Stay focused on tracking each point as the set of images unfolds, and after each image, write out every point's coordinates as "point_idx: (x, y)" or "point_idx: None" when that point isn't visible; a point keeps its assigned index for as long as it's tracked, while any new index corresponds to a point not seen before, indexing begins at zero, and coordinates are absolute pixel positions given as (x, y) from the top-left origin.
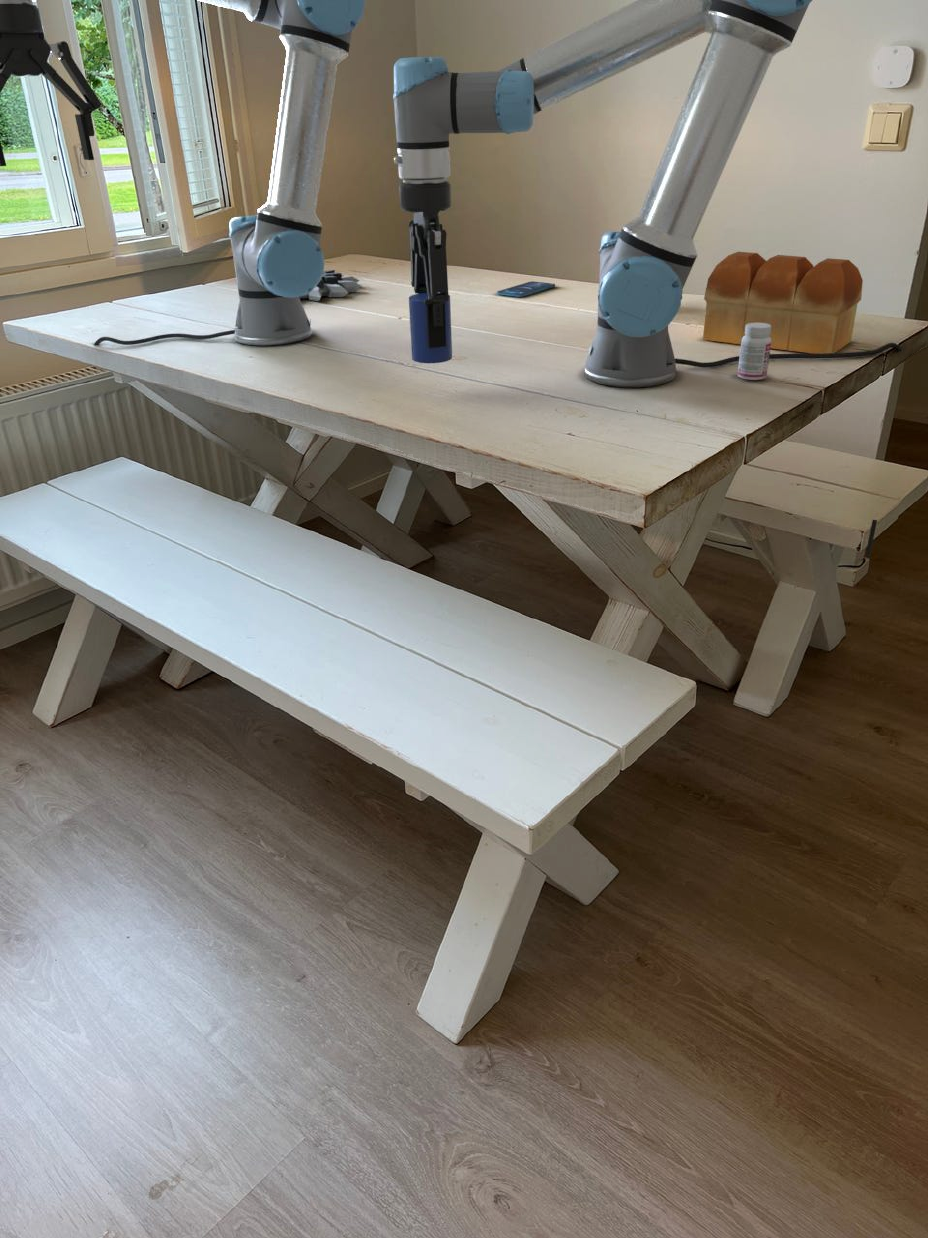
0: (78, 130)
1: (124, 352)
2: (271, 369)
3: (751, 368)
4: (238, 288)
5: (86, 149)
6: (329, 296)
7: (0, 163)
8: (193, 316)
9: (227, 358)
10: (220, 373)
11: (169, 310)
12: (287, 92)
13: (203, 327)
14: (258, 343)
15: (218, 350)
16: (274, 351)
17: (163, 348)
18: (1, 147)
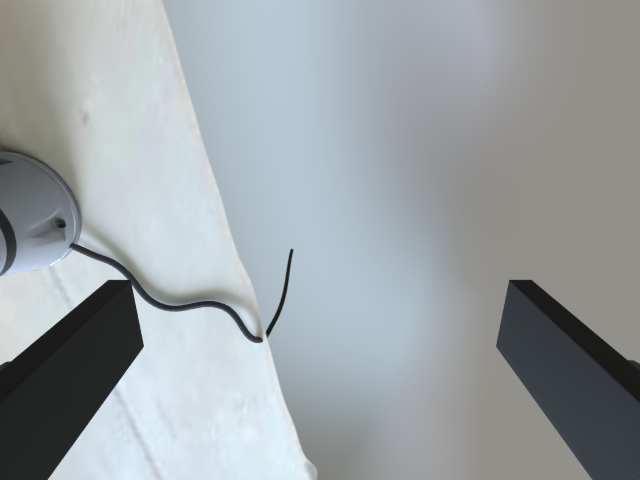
0: (69, 442)
1: (240, 276)
2: (74, 16)
3: None
4: (6, 248)
5: (109, 312)
6: None
7: (536, 287)
8: None
9: (120, 138)
10: (154, 56)
11: (124, 444)
12: None
13: None
14: (54, 174)
15: (120, 194)
16: (42, 125)
17: (187, 260)
18: (556, 321)
